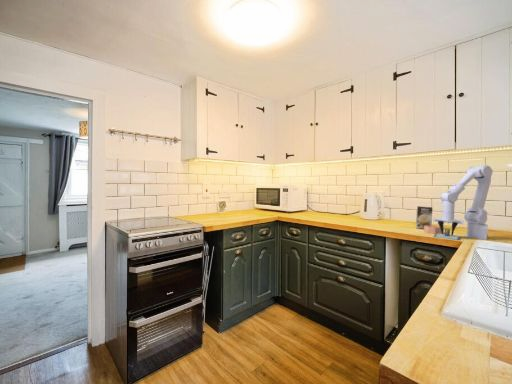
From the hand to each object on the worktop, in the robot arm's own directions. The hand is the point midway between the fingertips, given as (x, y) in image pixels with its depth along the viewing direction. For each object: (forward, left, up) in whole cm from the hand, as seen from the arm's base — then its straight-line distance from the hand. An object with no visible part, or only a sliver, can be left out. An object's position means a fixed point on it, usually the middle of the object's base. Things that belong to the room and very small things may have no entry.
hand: (447, 234), depth 151 cm
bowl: (+8, -11, -2) cm, 14 cm away
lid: (0, 0, -2) cm, 2 cm away
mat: (0, 0, -2) cm, 2 cm away
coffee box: (+16, -26, -2) cm, 30 cm away
